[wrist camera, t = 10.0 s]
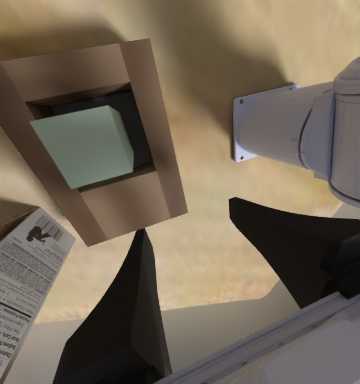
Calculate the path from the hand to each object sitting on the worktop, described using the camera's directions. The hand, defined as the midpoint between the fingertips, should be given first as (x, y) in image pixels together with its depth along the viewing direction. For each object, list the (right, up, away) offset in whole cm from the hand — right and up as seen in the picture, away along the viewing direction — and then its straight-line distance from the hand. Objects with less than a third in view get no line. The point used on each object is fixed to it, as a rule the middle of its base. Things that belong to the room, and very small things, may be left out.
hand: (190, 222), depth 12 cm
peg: (-8, +8, +4) cm, 12 cm away
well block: (-8, +7, +5) cm, 12 cm away
